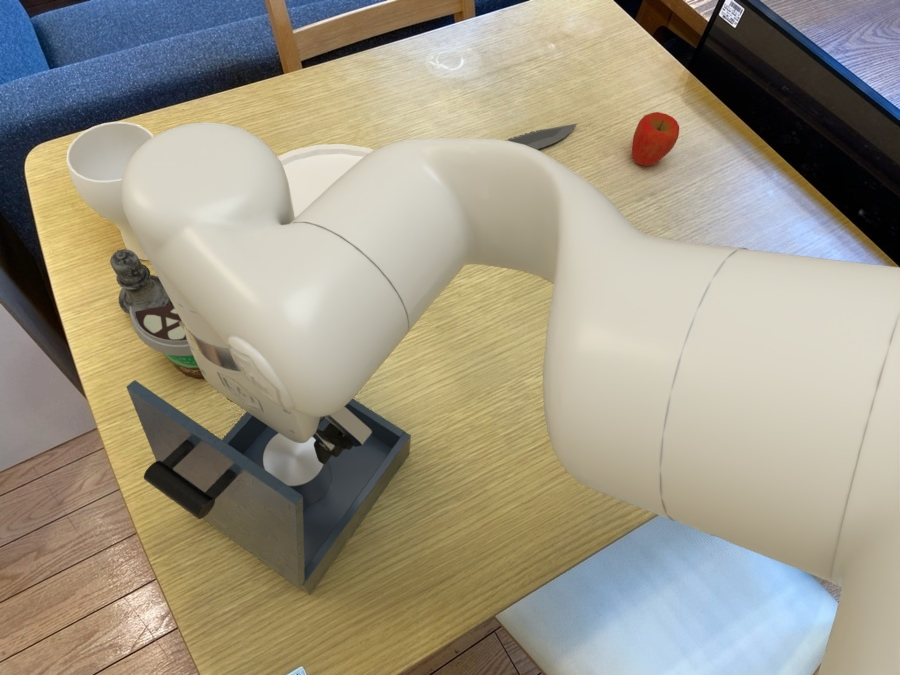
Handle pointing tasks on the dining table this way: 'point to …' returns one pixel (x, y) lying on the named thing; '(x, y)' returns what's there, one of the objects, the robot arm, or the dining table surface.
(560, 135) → the knife
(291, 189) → the plate
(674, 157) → the dining table surface
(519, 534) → the dining table surface
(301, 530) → the lid
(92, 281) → the dining table surface
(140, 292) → the chess piece
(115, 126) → the cup
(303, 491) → the brushed metal cylinder
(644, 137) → the apple
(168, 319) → the food container
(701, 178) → the dining table surface
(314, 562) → the dark blue-grey open box
